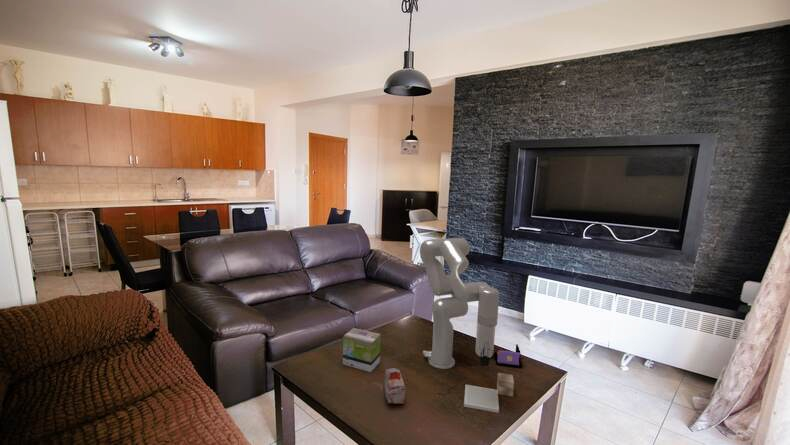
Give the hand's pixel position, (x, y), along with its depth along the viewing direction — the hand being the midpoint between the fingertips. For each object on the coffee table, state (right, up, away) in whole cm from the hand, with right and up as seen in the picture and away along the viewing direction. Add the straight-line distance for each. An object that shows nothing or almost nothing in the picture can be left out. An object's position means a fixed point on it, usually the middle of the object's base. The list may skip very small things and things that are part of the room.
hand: (484, 363), depth 137 cm
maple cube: (+11, -9, +7) cm, 16 cm away
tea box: (-51, -11, +25) cm, 58 cm away
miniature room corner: (+20, -12, +33) cm, 41 cm away
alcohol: (+10, -11, +38) cm, 41 cm away
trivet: (-1, -15, +2) cm, 15 cm away
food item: (-36, -14, +2) cm, 39 cm away
